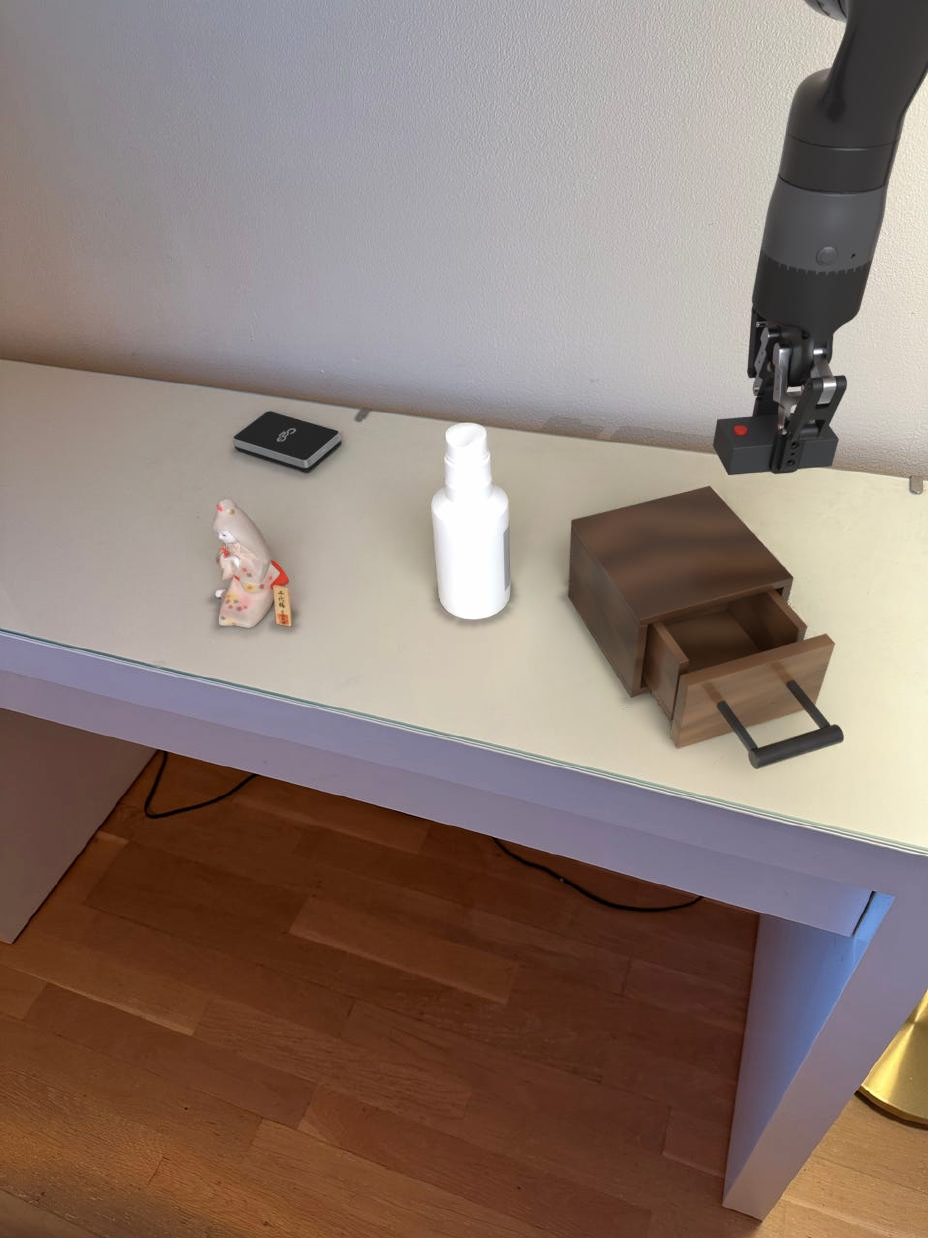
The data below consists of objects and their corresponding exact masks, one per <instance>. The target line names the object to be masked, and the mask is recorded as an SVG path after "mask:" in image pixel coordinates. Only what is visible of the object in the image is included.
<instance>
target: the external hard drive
mask: <svg viewBox="0 0 928 1238" xmlns="http://www.w3.org/2000/svg"><path fill="white" fill-rule="evenodd" d="M232 442H233V445H234V449H235V450H236V451H237V452H240V453H243V454H246V455H249V456H252V457H254V458H255V457H256V458H258V459H262V460H265V461H268V462H270V463H275V464H277V465H280V466H283V467H286V468H290V469H293V470H296V471H299V472H302V473H310V472H312V471H313V470H314V469H315V468H316V467H317V466H318V465H319V464H320V463H322V462H323V461H324V460H325V459H326V458H328V457H329V456H330V455H331V454H332V453H333V452H334V451H336V450H337V449H338V448H339V447H340V446H341V445H342V437H341V431H340V430H338V429H336V428H332V427H329V426H325V425H322V424H318V423H316V422H313V421H312V422H311V421H309V420H305V419H302V418H298V417H294V416H291V415H287V414H284V413H280V412H277V411H275V410H266V411H264V412H263V413H262V414H260V415H258V417H256V418H255V419H254V420H252V421H251V422H250V423H248V424H247V425H246V426H244V427H243V428H242V429H240V430H239V431H237V432H236V433H235V434H234V435H232Z"/></svg>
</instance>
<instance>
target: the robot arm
mask: <svg viewBox="0 0 928 1238" xmlns="http://www.w3.org/2000/svg"><path fill="white" fill-rule="evenodd" d="M803 2H804V3H805V4H806V5H807V6H808V7H809V8H810V9H812V10H813V11H814V12H816V13H818V14H819V15H821V16H824V17H827V18H829V19H832V20H835V21H839V22H841V23H843V24H845V27H844V32H843V36H842V40H841V41H840V44H839V47H838V50H837V52H836V54H835V57H834V58H833V59H834V60H833V62H832V64H831V67H827V68H822V69H820V70H818V71H814V72H812V73H811V74H809V75H808V76H806V77H805V78H804V79H803V80H802V81H801V82H800V83H799V84H798V85H797V88H796V90H795V92H794V94H793V96H792V99H791V103H790V107H789V111H788V116H787V121H786V126H785V132H784V133H785V134H784V138H783V144H782V151H781V155H780V161H779V166H778V172H777V175H776V179H775V183H774V186H773V189H772V193H771V195H770V198H769V202H768V206H767V211H766V216H765V222H764V227H763V233H762V239H761V244H760V248H759V249H760V250H759V256H758V259H757V260H758V261H757V266H756V271H755V277H754V284H753V289H752V293H751V294H752V295H751V305H752V306H751V310H750V312H751V314H750V327H749V341H748V342H749V343H748V355H747V368H746V373H747V377H748V379H754V381H753V384H752V393H753V396H754V397H755V399H754V405H753V410H752V415H751V416H763V415H774V414H778V422H777V430H776V433H775V438H774V443H773V448H772V452H771V457H770V462H769V468H770V470H771V472H770V473H772V474H774V475H782V474H792V473H793V474H794V473H795V472H797V471H798V470H799V469H798V468H799V464H800V460H801V456H802V452H803V448H804V444H805V440H806V439H817V438H823V437H824V435H825V433H826V431H827V429H828V426H830V424H831V423H832V421H833V418H834V416H835V414H836V412H837V410H838V408H839V405H840V404H841V402H842V399H843V397H844V395H845V393H846V391H847V387H848V380H847V379H848V378H847V377H846V376H845V374H841V375H834V374H833V372H832V370H831V367H830V363H831V361H832V358H833V353H834V352H833V351H834V349H833V347H834V336H835V335H834V334H835V333H836V332H837V331H838V330H839V329H841V328H842V327H843V326H845V325H846V324H848V323H850V322H851V321H852V320H854V319H855V318H856V317H857V316H858V314H859V312H860V310H861V306H862V303H863V298H864V295H865V290H866V288H867V283H868V279H869V276H870V272H871V268H872V265H873V262H874V261H873V260H874V258H875V257H874V256H875V253H876V249H877V247H878V242H879V238H880V234H881V231H882V227H883V222H884V217H885V213H886V205H887V195H888V191H889V190H888V189H889V185H890V179H891V176H892V172H893V169H894V164H895V161H896V156H897V154H898V150H899V146H900V142H901V137H902V135H903V134H902V133H903V129H904V125H905V119H906V115H907V113H908V111H909V108H910V106H911V104H912V102H913V101H914V99H915V97H916V96H917V94H918V93H919V90H920V88H921V86H922V85H923V83H924V81H925V79H926V77H927V76H928V0H803ZM789 388H800V390H795V391H788V390H789ZM793 406H795V408H794V410H793V412H792V408H793ZM790 413H793V415H792V418H791V419H790Z"/></svg>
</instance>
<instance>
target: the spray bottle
mask: <svg viewBox="0 0 928 1238" xmlns="http://www.w3.org/2000/svg"><path fill="white" fill-rule="evenodd" d="M444 441H445V453H444V456H443V463H444V486H443V487H441V488H440V489H439V490H437V492H436V493H435V494H434V495H433V497H432V500H431V504H430V514H431V525H432V536H433V546H434V547H433V548H434V558H435V569H436V581H437V591H438V598H439V602H440V604H441V605H442V606H443V608H444V609H445V610H446V612H448V613H450V614H451V615H453V616H454V617H457V618H461V619H464V620H481V619H486V618H487V619H488V618H490V617H492V616H495V615H497V614H498V613H499V612H501V611H502V610H503V609H504V608H505V607H506V605H507V604H508V602H509V601H510V599H511V591H512V590H511V589H512V588H511V582H512V581H511V540H510V539H511V538H510V537H511V536H510V535H511V533H510V502H509V499H508V495H507V494H506V492H505V491H504V490H503V489H502V488H501V487H500V486H499V485H496V484H494V483H493V475H492V462H491V460H492V459H491V453H490V450H489V447H488V432H487V430H486V428H485V427H484V426H482V425H481V424H479V423H476V422H475V423H474V422H459V423H456V424H453V425H452V426H450V427H449V428H447V430H446V431H445V434H444Z"/></svg>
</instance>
